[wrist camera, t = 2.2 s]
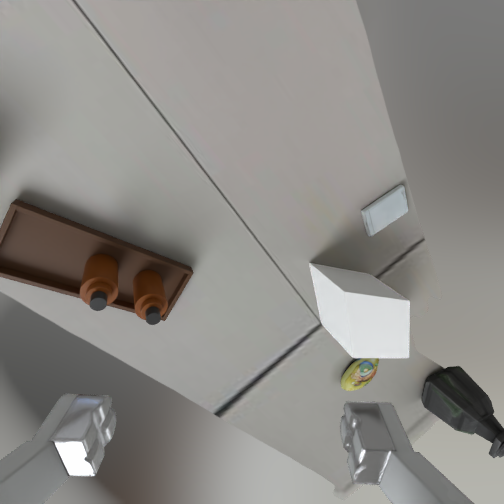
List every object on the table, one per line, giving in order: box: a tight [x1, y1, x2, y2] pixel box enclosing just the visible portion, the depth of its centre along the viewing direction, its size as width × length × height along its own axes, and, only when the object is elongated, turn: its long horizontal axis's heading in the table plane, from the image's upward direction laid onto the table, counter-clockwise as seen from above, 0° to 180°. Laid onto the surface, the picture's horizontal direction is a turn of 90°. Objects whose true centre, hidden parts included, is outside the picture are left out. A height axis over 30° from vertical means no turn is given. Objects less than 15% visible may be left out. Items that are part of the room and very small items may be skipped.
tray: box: [0, 199, 193, 321], centre depth 56 cm, size 32×13×2 cm, turn 56°
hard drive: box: [361, 185, 408, 237], centre depth 77 cm, size 2×8×12 cm
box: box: [309, 263, 410, 358], centre depth 81 cm, size 20×40×14 cm, turn 43°
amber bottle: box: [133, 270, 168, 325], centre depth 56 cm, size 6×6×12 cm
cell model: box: [341, 358, 379, 391], centre depth 101 cm, size 11×8×15 cm
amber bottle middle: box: [80, 254, 118, 311], centre depth 51 cm, size 6×6×12 cm
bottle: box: [422, 366, 504, 458], centre depth 120 cm, size 18×16×30 cm
